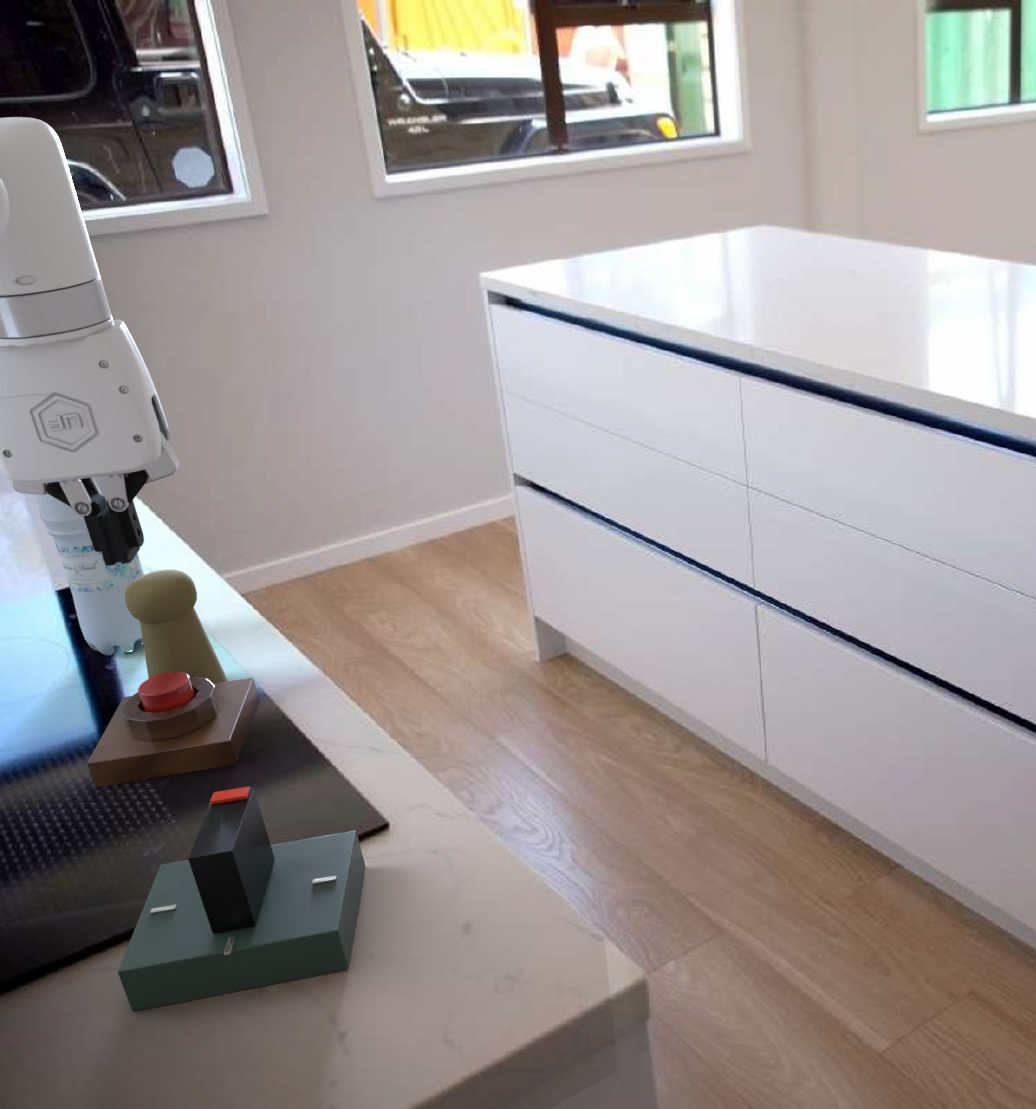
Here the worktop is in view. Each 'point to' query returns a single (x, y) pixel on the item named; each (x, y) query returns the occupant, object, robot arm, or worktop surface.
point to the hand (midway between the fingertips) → (123, 556)
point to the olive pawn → (172, 626)
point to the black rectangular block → (232, 860)
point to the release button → (166, 692)
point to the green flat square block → (255, 952)
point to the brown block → (176, 734)
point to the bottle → (93, 578)
